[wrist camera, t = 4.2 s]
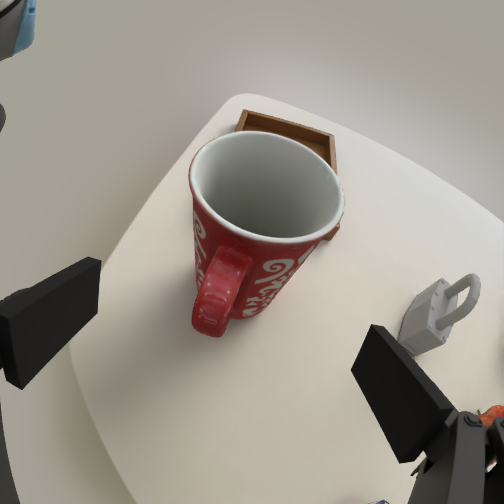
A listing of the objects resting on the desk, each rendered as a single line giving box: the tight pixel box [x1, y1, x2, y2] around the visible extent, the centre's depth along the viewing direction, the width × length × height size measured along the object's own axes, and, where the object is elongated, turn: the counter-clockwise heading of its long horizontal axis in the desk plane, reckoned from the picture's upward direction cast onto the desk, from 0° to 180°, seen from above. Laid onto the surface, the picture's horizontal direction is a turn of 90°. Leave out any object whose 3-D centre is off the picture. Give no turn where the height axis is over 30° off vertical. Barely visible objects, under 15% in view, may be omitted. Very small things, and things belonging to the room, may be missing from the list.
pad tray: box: [235, 109, 340, 240], centre depth 35 cm, size 14×18×2 cm
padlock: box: [398, 274, 481, 356], centre depth 24 cm, size 7×4×10 cm, turn 143°
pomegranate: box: [477, 405, 504, 465], centre depth 19 cm, size 7×7×10 cm
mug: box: [189, 131, 345, 338], centre depth 21 cm, size 13×9×14 cm
